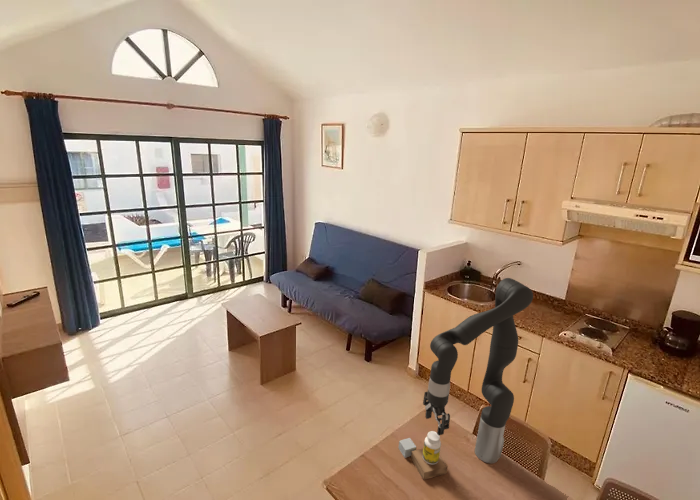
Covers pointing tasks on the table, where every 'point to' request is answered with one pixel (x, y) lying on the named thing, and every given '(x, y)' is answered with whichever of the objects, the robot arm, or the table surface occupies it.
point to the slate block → (406, 447)
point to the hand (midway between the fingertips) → (434, 425)
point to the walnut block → (428, 465)
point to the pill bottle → (431, 448)
